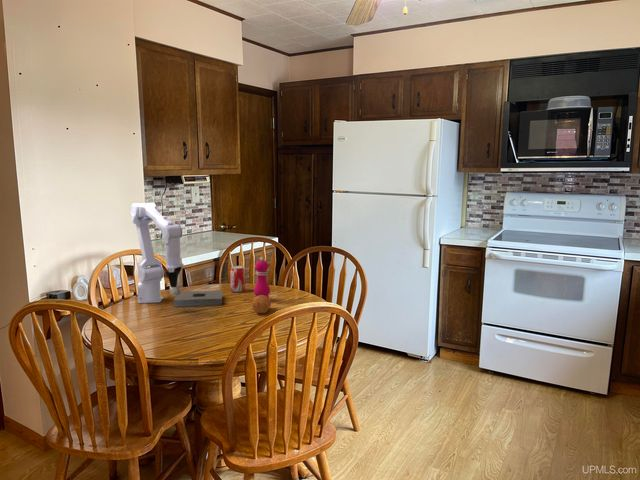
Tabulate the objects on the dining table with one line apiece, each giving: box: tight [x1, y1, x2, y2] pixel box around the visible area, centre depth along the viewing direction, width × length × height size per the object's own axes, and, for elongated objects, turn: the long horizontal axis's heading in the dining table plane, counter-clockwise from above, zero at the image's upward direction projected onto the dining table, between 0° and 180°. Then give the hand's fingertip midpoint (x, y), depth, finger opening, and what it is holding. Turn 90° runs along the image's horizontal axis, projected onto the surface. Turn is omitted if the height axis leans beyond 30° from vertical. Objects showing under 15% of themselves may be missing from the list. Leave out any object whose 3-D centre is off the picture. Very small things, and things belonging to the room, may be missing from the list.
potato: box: [252, 295, 272, 314], centre depth 199 cm, size 7×13×7 cm, turn 174°
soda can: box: [229, 265, 246, 293], centre depth 232 cm, size 7×7×12 cm
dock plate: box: [173, 290, 224, 308], centre depth 213 cm, size 20×14×3 cm
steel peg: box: [168, 274, 181, 296], centre depth 199 cm, size 4×4×9 cm
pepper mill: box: [253, 256, 271, 299], centre depth 214 cm, size 7×7×20 cm
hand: (174, 285), depth 199 cm, fingers closed on steel peg, 4 cm apart
